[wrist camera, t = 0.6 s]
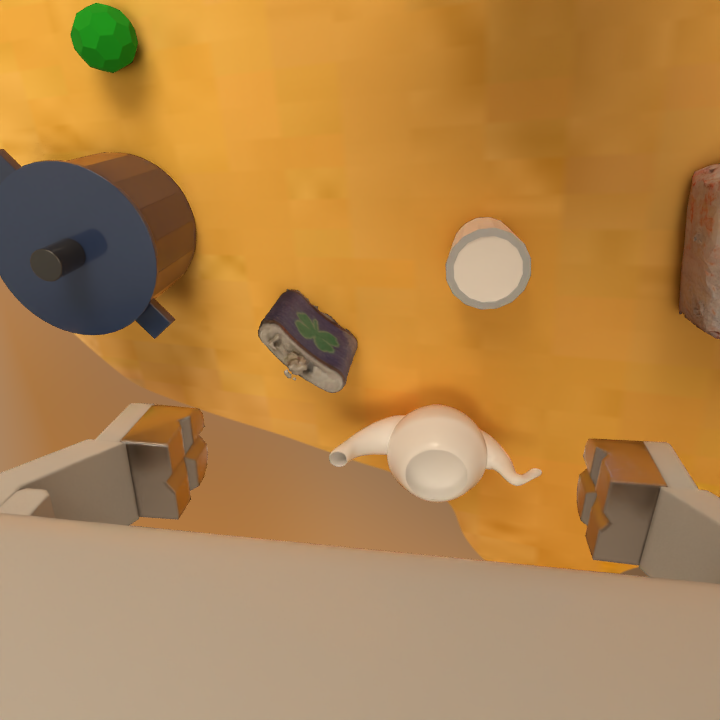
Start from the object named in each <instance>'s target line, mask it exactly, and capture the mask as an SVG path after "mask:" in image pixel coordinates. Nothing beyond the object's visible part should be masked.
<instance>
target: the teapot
mask: <svg viewBox="0 0 720 720" xmlns="http://www.w3.org/2000/svg"><path fill="white" fill-rule="evenodd" d="M363 455H387V460H388V465H389V468H390V471H391V473H392V474H393V476H394V478H395V479H396V480H397V482H398V483H399V484H400V485H401V486H402V487H404V488H405V489H406V490H407V491H408V492H410V493H411V494H413V495H414V496H416V497H418V498H420V499H423V500H426V501H431V502H446V501H450V500H453V499H456V498H458V497H460V496H462V495H463V494H465V493H466V492H468V491H469V490H471V489H472V488H473V487H474V486H475V485H476V484H477V483H478V482H479V481H480V479H481V478H482V476H483V474H484V472H485V469H493V470H495V471H497V472H498V473H500V474H501V475H502V477H503V478H504V479H505V480H506V481H508V482H509V483H510V484H512V485H515V486H520V485H523V484H525V483H527V482H529V481H530V480H532V479H534V478H536V477H538V476H540V475H541V474H542V471H541V470H540V469H537V468H533V469H530V470H529V471H528V472H526V473H525V474H523V475H520V474H518V473H516V472H515V469H514V466H513V463H512V461H511V459H510V457H509V456H508V454H507V453H506V452H505V450H504V449H503V448H502V447H501V446H500V444H499V443H498V442H497V441H496V440H495V439H494V438H493V437H491V436H490V435H489V434H487V433H486V432H484V431H482V430H481V429H479V427H478V426H477V425H476V424H475V422H474V421H473V420H472V419H471V418H470V417H468V416H467V415H466V414H464V413H463V412H461V411H460V410H458V409H455V408H453V407H450V406H445V405H440V404H434V405H427V406H423V407H420V408H417V409H415V410H413V411H412V412H410V413H408V414H407V415H396V416H391V417H388V418H384V419H382V420H379V421H377V422H375V423H372V424H370V425H368V426H367V427H365V428H363V429H361V430H360V431H358V432H357V433H355V434H354V435H353V436H351V437H350V438H349V439H347V440H346V441H345V442H343V443H342V444H340V445H339V446H338V447H336V448H335V449H334V450H333V451H332V452H331V453H330V455H329V461H330V462H331V464H332V465H334V466H337V467H342V466H344V465H346V464H347V463H348V462H349V461H351V460H352V459H354V458H356V457H359V456H363Z"/></svg>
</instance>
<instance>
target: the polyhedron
mask: <svg viewBox="0 0 720 720" xmlns="http://www.w3.org/2000/svg"><path fill="white" fill-rule="evenodd" d="M71 38H72V42H73V46H74V49H75V50H76V51H77V53H78V54H79V55H80V56H81V58H82V59H83V60H84V61H85V62H86V63H87V64H88V65H89V66H90V67H92V68H95V69H99V70H102V71H106V72H111V73H114V72H116V71H118V70H120V69H122V68H124V67H125V66H127V65H129V64H130V63H132V62H133V59H134V56H135V53H136V50H137V45H138V41H137V37H136V32H135V29H134V27H133V26H132V24H131V22H130V21H129V20H128V19H127V18H126V16H125V15H124V14H123V13H122V12H121V11H120V10H118V9H116V8H113V7H111V6H108V5H104V4H99V3H95V4H92V5H90V6H88V7H86V8H84V9H83V10H81V11H80V12H78V13H76V17H75V20H74V23H73V27H72V31H71Z"/></svg>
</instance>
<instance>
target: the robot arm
mask: <svg viewBox="0 0 720 720" xmlns="http://www.w3.org/2000/svg"><path fill="white" fill-rule="evenodd" d="M204 427H205V426H204V419H203V413H202V412H201V411H200V409H198V408H188V407H177V406H166V405H155V404H145V403H132V404H129V405H128V406H127V407H126V408H125V410H123V412H122V413H121V414H120V415H119V416H118V417H117V418H116V419H115V420H114V421H113V422H112V423H111V424H110V425H109V426H108V427H107V428H106V429H105V430H104V431H103V432H102V433H101V434H100V435H99V436H98V437H97V438H96V439H95V440H90V439H87V440H85V441H82V442H80V443H77V444H74V445H72V446H69V447H67V448H64V449H61V450H59V451H56V452H53V453H51V454H49V455H46V456H43V457H41V458H38V459H36V460H33V461H30V462H27V463H25V464H22V465H20V466H17V467H14V468H12V469H9V470H7V471H4V472H1V473H0V720H720V498H719V497H717V496H716V495H714V494H712V493H710V492H709V491H706V490H699V489H698V487H697V486H696V484H695V483H694V481H693V480H692V478H691V476H690V475H689V473H688V472H687V470H686V468H685V467H684V465H683V464H682V462H681V461H680V459H679V457H678V456H677V454H676V453H675V451H674V449H673V448H672V446H671V445H670V444H668V443H667V442H649V441H629V440H609V439H588V441H587V443H586V446H585V450H584V455H583V457H584V460H585V463H586V466H587V469H585V470H584V471H583V472H582V473H581V474H580V475H579V481H578V487H577V507H578V513H579V516H580V520H581V521H582V522H583V523H585V524H586V525H587V530H586V535H585V536H586V539H587V542H588V545H589V549H590V552H591V555H592V558H593V560H600V561H608V562H616V563H624V564H632V565H639V568H640V569H641V570H642V571H644V573H646V575H647V576H648V577H645V576H635V575H625V574H615V573H605V572H594V571H584V570H574V569H564V568H554V567H544V566H534V565H524V564H513V563H503V562H493V561H483V560H482V561H481V560H472V559H462V558H453V557H442V556H431V555H422V554H412V553H402V552H391V551H381V550H372V549H361V548H351V547H340V546H331V545H321V544H311V543H300V542H291V541H280V540H271V539H260V538H250V537H240V536H230V535H219V534H210V533H200V532H189V531H179V530H169V529H159V528H149V527H139V526H129V525H130V524H132V523H133V522H135V521H136V520H138V519H139V517H151V518H166V519H179V518H180V516H181V514H182V513H183V511H184V510H185V508H186V506H187V505H188V503H189V502H190V500H191V496H190V491H191V490H192V489H194V488H196V487H198V486H199V485H200V483H201V481H202V480H203V478H204V475H205V471H206V468H207V460H208V459H207V458H208V451H207V444H206V443H205V441H204V440H203V439H202V438H201V437H200V435H199V434H200V433H201V431H202V430H203V428H204Z"/></svg>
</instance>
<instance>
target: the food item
mask: <svg viewBox="0 0 720 720" xmlns="http://www.w3.org/2000/svg"><path fill="white" fill-rule="evenodd" d="M682 313H683V314H685V318H687V319H688V320H689V321H691V322H692V323H693V324H694V325H696V326H697V327H698V328H700V329H701V330H703V331H704V332H706V333H707V334H710V335H711V336H713V337H714V338H717V339H720V163H719V164H714V165H710V166H708V167H705V168H702V169H700V170H697V171H695V172H694V175H693V176H692V185H691V190H690V195H689V200H688V206H687V220H686V230H685V243H684V251H683V259H682V268H681V285H680V301H679V314H682Z"/></svg>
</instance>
